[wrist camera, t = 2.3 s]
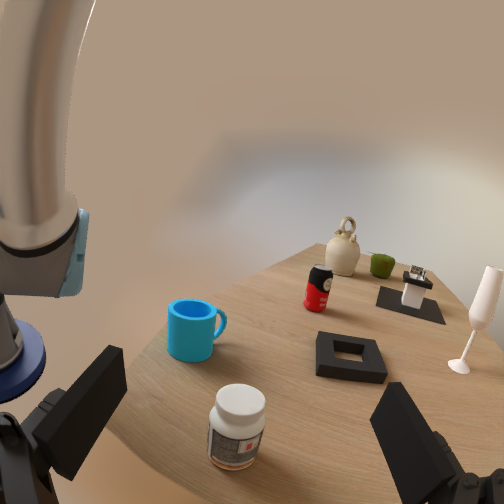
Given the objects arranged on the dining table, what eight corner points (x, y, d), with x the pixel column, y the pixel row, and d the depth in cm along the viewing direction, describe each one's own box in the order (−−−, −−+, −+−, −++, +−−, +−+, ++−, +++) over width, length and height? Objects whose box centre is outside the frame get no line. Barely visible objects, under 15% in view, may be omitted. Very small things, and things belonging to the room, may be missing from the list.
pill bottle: (265, 459, 25) (284, 405, 22) (224, 479, 21) (234, 428, 19) (236, 430, 29) (247, 374, 27) (196, 445, 25) (199, 389, 23)
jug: (318, 265, 126) (328, 212, 121) (348, 269, 126) (359, 218, 121) (326, 274, 111) (338, 215, 106) (359, 279, 111) (372, 222, 106)
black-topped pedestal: (445, 325, 69) (458, 286, 66) (375, 305, 81) (386, 266, 78) (435, 301, 93) (444, 270, 90) (380, 286, 105) (388, 255, 102)
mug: (183, 367, 40) (184, 324, 38) (159, 342, 46) (159, 302, 44) (237, 348, 49) (243, 309, 47) (210, 329, 54) (214, 293, 52)
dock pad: (315, 375, 43) (319, 364, 43) (315, 340, 56) (318, 330, 55) (383, 384, 41) (388, 373, 40) (371, 349, 53) (375, 339, 53)
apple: (372, 271, 131) (376, 249, 129) (393, 277, 123) (398, 256, 121) (364, 274, 122) (369, 251, 119) (387, 281, 114) (393, 257, 111)
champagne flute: (446, 368, 45) (484, 265, 40) (448, 357, 50) (481, 262, 44) (469, 376, 40) (510, 274, 35) (469, 364, 45) (504, 270, 40)
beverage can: (303, 311, 71) (312, 268, 68) (301, 302, 77) (310, 262, 74) (326, 314, 70) (336, 272, 68) (323, 305, 76) (332, 265, 74)
